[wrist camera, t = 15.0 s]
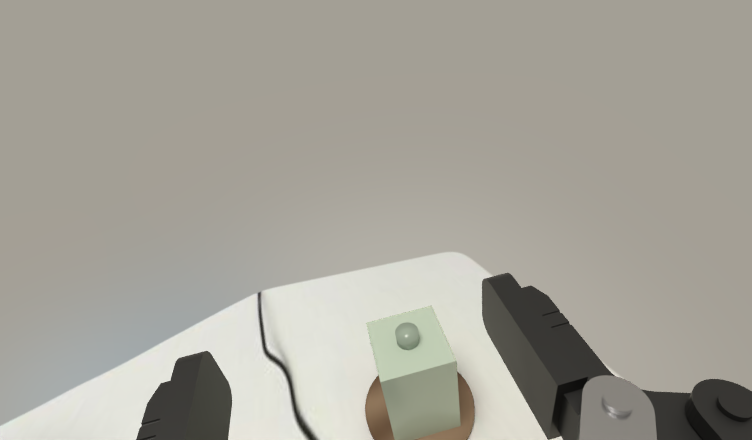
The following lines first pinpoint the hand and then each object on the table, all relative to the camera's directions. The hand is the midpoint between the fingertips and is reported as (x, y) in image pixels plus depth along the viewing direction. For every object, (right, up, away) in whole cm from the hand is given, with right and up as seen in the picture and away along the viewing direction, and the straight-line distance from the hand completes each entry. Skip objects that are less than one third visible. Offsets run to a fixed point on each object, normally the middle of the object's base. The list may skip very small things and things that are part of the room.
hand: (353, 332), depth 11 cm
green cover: (+5, -15, +29) cm, 33 cm away
